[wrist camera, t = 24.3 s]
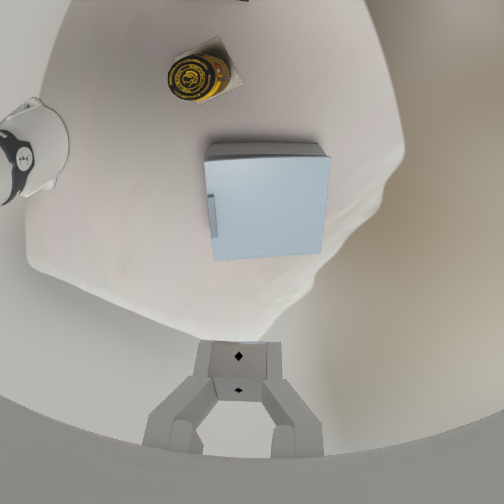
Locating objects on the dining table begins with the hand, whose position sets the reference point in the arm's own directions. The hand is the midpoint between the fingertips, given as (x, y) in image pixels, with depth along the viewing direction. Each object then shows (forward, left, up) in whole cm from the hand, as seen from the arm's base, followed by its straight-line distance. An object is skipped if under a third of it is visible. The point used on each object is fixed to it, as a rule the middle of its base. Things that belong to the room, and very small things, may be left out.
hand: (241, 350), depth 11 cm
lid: (+1, -9, -29) cm, 31 cm away
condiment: (-7, +10, -37) cm, 39 cm away
